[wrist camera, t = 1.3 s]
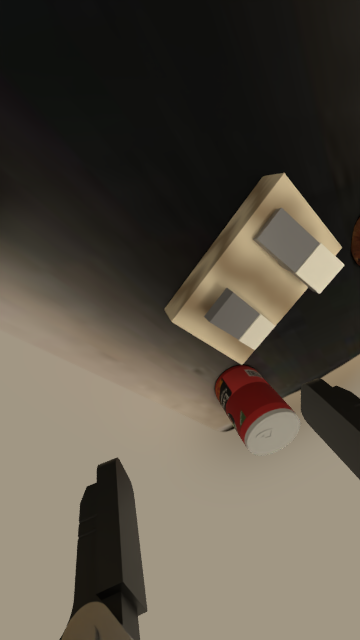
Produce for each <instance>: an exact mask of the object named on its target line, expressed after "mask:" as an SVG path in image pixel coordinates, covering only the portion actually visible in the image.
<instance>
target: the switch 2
mask: <svg viewBox="0 0 360 640" xmlns="http://www.w3.org/2000/svg"><path fill="white" fill-rule="evenodd" d="M253 240H254V241H255V242H256V243H257V244H259V245H260V246H261V247H262V248H263V249H264V250H266V251H267V252H268V253H269V254H270V255H271V256H272V257H274V258H275V259H276V260H277V261H278V263H279V265H280V266H282V267H283V268H284V269H286V270H288V271H290V272H291V273H292V274H293V275H295V276H296V277H297V278H298V279H299V280H300V281H302V282H303V283H304V284H305V285H306V286H307V287H309V288H310V289H311V290H312V291H313V292H316V293H319V294H320V293H321V292H322V291H323V289H324V288H325V287H326V286H327V285H328V284H329V283H330V281H331V280H332V279H333V278H334V277H335V276H336V274H337V273H338V272H339V271H340V270H341V269H342V268H343V266H344V264H343V263H342V262H341V261H340V260H339V259H338V258H337V257H336V256H335V255H333V254H332V253H331V252H330V251H329V250H328V249H327V248H326V247H325V246H324V245H323V244H322V243H319V242H318V241H317V240H316V239H315V238H314V237H313V236H312V235H310V234H309V233H308V232H307V231H306V230H305V229H304V228H303V227H302V226H301V225H300V224H299V223H298V222H297V221H295V220H294V219H293V218H292V217H291V216H290V215H289V214H288V213H287V212H286V211H285V210H284V209H283V208H278V209H276V210H275V212H274V213H273V214H272V215H271V217H270V218H269V219H268V221H267V222H266V223H265V225H264V226H263V227H262V228H261V230H260V231H259V232H258V234H257V235H256V236H255V237H254V239H253Z"/></svg>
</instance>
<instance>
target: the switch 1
mask: <svg viewBox="0 0 360 640" xmlns="http://www.w3.org/2000/svg"><path fill="white" fill-rule="evenodd" d="M204 317H205V318H206V319H207V320H208V321H209V322H210V323H212V324H213V325H215V326H217V327H218V328H220V329H222V330H223V331H225V332H227V333H228V334H230V335H232V336H233V337H235V338H237V339H238V340H239V341H240V342H242V343H244V344H245V345H247V346H249V347H250V348H252V349H254V350H255V349H256V348H257V347H258V346H259V345H260V344H261V342H262V341H263V340H264V339H265V338H266V336H267V335H268V334H269V333H270V332H271V331H272V329H273V328H274V327H275V325H274V324H272V323H271V322H270V321H269V320H267V319H266V318H265V317H264V316H263V315H261V314H259V313H258V312H257V311H256V310H254V309H253V308H252V307H251V306H250V305H248V304H247V303H246V302H245V301H243V300H242V299H241V298H240V297H239V296H237V295H236V294H235V293H234V292H232V291H231V290H229V289H228V288H226V289H225V290H224V292H223V293H222V294H221V295H220V297H219V298H218V299H217V301H216V302H215V303H214V304H213V306H212V307H211V308H210V309H209V311H208V312H207V313H206V315H205V316H204Z"/></svg>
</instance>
